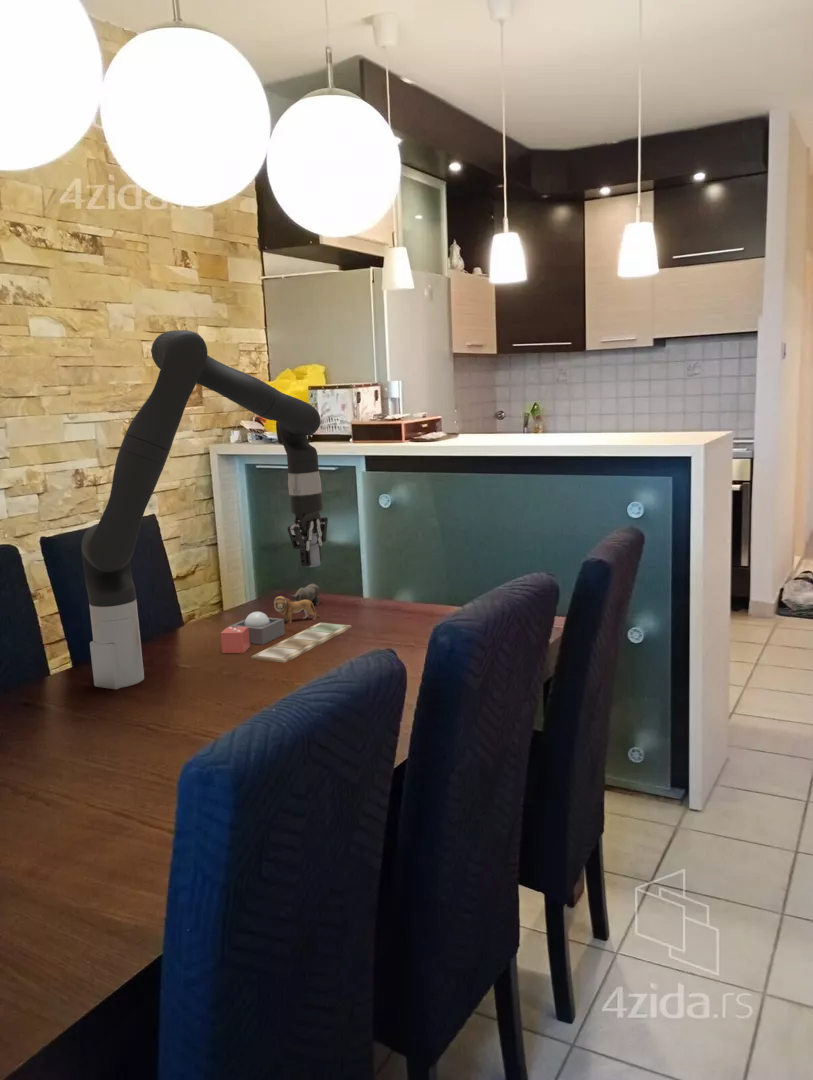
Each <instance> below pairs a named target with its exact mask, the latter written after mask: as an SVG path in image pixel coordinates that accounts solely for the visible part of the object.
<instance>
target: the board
mask: <svg viewBox="0 0 813 1080" xmlns="http://www.w3.org/2000/svg"><path fill="white" fill-rule="evenodd" d="M350 629H352V625H350V624H340V623H331V622H330V623H329V622H318V623H316V624H313V625H312V626H310V627H308V628H306V629H304V630H302V631H300V632H297V633H296V634H294V635H292V636H289V637H288V638H286V639H283V640H281V641H280V642H277V643H276V644H273V645H271V646H270V647H267V648H265V649H264V650H260V651H258V652H257V653H255V654H253V655H252V656H250V658H251V659H252V660H260V661H267V662H275V663H284V664H285V663H288V662H290V661H291V660H293V659H295V658H296V657H299V656H301V655H303V654H304V653H306V652H308V651H310V650H312V649H314V648H316V647H317V646H319V645H321V644H323V643H325V642H327V641H329V640H330V639H332V638H334V637H336V636H338V635H341V634H342V633H344V632H346V631H348V630H350Z"/></svg>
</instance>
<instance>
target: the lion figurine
mask: <svg viewBox="0 0 813 1080" xmlns="http://www.w3.org/2000/svg"><path fill="white" fill-rule="evenodd" d="M273 608H274V609H275V611H276V612H277V613H279V614H281V615H282V616H284V622H287V624H292V621H293V620H292V615H293V614H298V613H300V612H302V611H304V615H305V616H303V617H301V618H302V620H304V619H308V616H309V615H311V616H312V618H311V620H312V621H315V620H317V618H319V617H320V615H319V614H317V612H316V607H315V604H314V603H312V600H311V601H309V600H301V601H297V602H294V601H293V600H291V599H290V598H287V597H285V596H282V595H280V596H276V597H275V598H274V599H273Z"/></svg>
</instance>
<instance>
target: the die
mask: <svg viewBox="0 0 813 1080" xmlns="http://www.w3.org/2000/svg"><path fill="white" fill-rule="evenodd" d="M220 638H221V639H220V640H221V652H222V654H244V653H246V651H247V650H248V649H249V648H250V647H251V643H250V641H249V628H248V627H230V626H227V627H226V628H224V629H223V631H221V632H220Z"/></svg>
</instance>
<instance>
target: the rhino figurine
mask: <svg viewBox="0 0 813 1080" xmlns="http://www.w3.org/2000/svg"><path fill="white" fill-rule="evenodd" d="M289 597H291V598H293V600H292V601H294V602H297V601H301V600H309V601H311V602H312V603H313V604H314V606H316V605H320V599H319V597H320V587H319V586H318V585H317V584H315V583H310V584H308V585H307V586H305V587H300V588H299V589H298V590H297V591H296V592H295V593H294V594H289Z"/></svg>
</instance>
